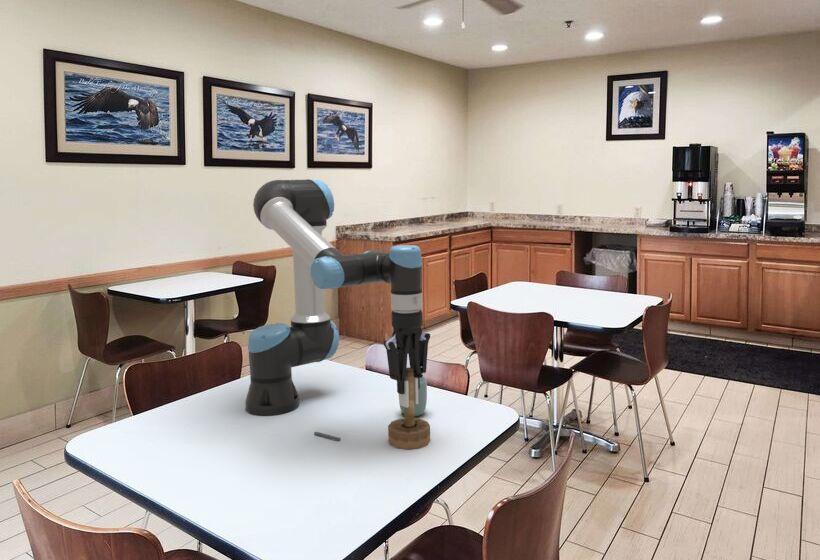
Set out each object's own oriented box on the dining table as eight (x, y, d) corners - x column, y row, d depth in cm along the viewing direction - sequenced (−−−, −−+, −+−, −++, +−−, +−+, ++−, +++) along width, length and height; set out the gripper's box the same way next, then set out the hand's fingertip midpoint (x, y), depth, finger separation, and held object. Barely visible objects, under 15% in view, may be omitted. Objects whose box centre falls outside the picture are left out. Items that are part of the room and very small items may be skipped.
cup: (424, 420, 168) (423, 384, 167) (396, 418, 170) (395, 383, 168) (429, 409, 176) (428, 375, 174) (402, 408, 177) (401, 374, 176)
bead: (380, 440, 155) (380, 425, 155) (410, 429, 162) (410, 415, 161) (407, 452, 148) (407, 436, 147) (437, 441, 154) (437, 425, 154)
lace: (314, 434, 160) (314, 432, 160) (316, 433, 160) (316, 431, 160) (338, 441, 155) (338, 439, 155) (340, 440, 156) (340, 437, 156)
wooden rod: (402, 428, 154) (401, 369, 152) (410, 425, 156) (408, 367, 154) (409, 430, 152) (407, 371, 150) (416, 428, 154) (415, 369, 152)
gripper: (392, 317, 142) (394, 416, 145) (440, 307, 152) (442, 400, 156) (371, 312, 148) (374, 408, 151) (420, 303, 158) (421, 393, 161)
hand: (408, 404), depth 153 cm, fingers closed on wooden rod, 2 cm apart
